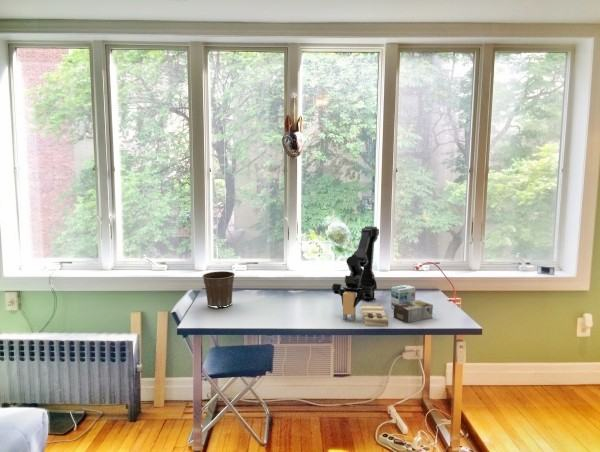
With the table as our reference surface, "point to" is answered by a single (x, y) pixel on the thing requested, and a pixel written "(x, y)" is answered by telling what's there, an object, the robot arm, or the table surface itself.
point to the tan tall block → (349, 305)
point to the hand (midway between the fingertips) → (348, 306)
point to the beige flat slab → (374, 315)
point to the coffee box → (413, 311)
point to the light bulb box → (402, 294)
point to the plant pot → (219, 288)
